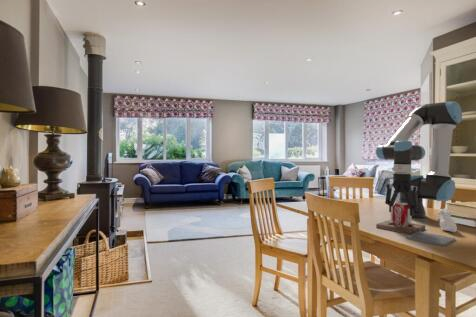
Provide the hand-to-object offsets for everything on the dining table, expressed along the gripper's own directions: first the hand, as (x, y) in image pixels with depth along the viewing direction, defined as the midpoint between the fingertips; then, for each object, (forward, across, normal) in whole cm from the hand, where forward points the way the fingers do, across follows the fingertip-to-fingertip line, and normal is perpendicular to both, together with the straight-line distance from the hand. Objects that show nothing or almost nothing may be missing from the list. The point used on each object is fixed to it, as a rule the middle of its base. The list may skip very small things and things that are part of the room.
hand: (400, 220), depth 152 cm
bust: (+4, +16, +14) cm, 21 cm away
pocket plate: (+4, 0, 0) cm, 4 cm away
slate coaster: (+4, +16, -9) cm, 19 cm away
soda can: (+4, 0, 0) cm, 4 cm away
